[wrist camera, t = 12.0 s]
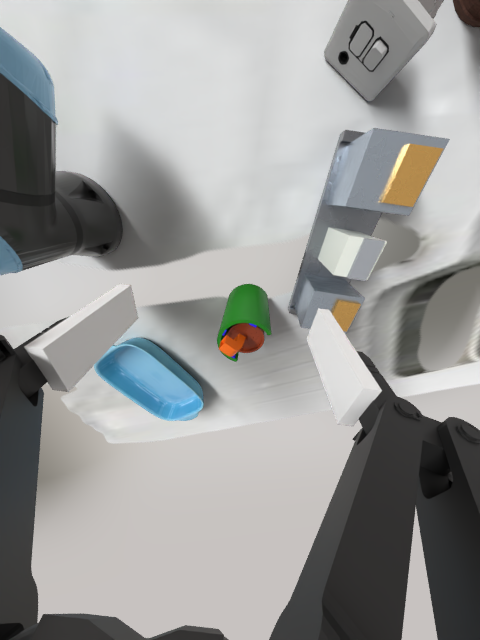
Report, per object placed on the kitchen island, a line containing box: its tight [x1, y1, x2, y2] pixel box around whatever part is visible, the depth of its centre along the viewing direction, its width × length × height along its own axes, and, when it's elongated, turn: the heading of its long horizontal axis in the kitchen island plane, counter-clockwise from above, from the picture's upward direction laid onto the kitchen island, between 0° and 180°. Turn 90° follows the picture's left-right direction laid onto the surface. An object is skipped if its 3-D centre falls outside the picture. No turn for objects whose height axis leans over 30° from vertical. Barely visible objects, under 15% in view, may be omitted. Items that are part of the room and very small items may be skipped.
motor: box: [217, 284, 271, 362], centre depth 39 cm, size 10×9×20 cm
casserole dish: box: [94, 338, 204, 421], centre depth 62 cm, size 37×22×7 cm, turn 37°
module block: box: [318, 227, 387, 281], centre depth 34 cm, size 6×6×11 cm
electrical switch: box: [324, 0, 444, 101], centre depth 23 cm, size 9×5×9 cm, turn 59°
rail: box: [288, 128, 450, 334], centre depth 35 cm, size 11×32×11 cm, turn 173°
